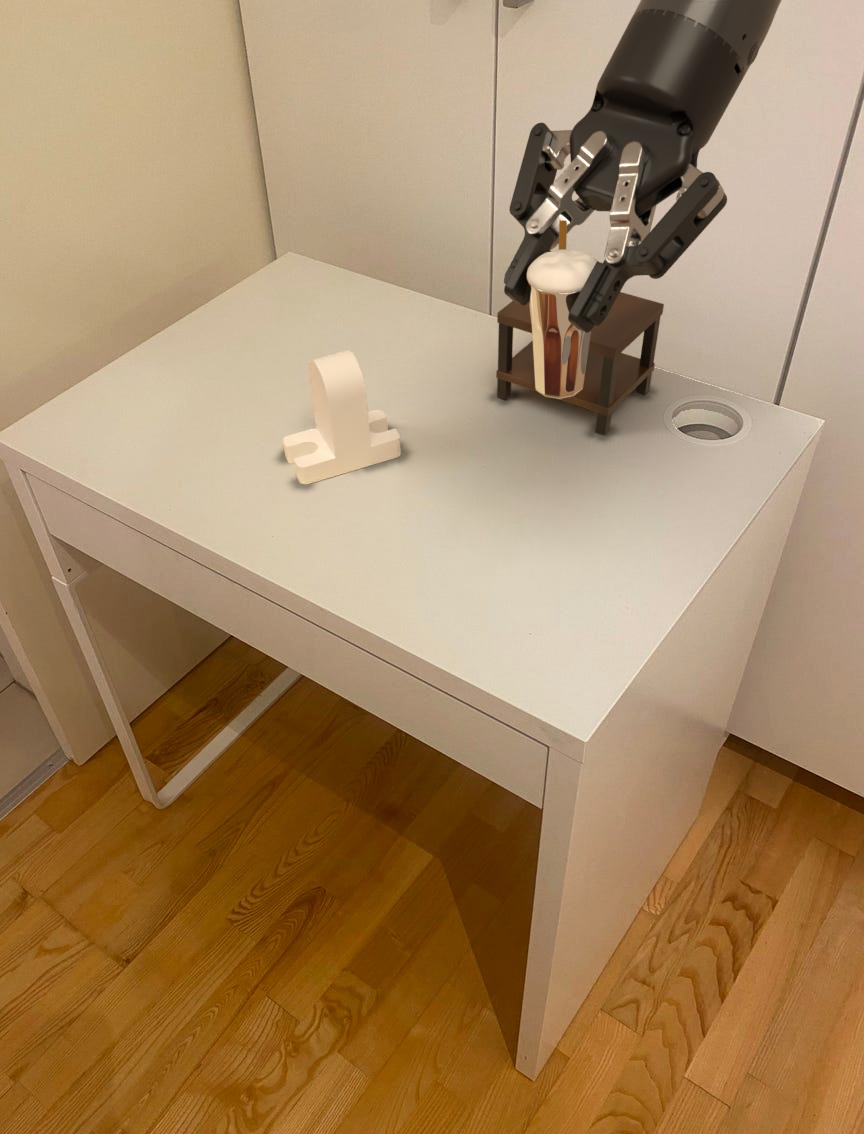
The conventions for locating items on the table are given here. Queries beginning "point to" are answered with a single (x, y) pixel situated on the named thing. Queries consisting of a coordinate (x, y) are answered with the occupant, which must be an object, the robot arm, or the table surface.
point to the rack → (589, 355)
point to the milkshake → (558, 318)
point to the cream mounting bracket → (340, 424)
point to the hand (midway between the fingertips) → (546, 311)
